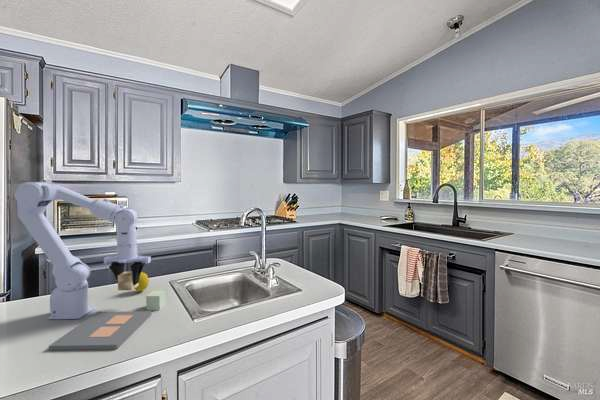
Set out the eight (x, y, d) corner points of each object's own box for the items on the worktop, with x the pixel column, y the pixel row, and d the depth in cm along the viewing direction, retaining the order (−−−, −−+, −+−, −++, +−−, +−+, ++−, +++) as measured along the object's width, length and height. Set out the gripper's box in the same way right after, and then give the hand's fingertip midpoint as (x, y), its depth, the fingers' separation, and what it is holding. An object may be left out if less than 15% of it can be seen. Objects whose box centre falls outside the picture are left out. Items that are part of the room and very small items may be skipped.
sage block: (146, 310, 96) (146, 296, 96) (152, 304, 101) (152, 291, 100) (159, 310, 97) (159, 296, 96) (165, 304, 101) (164, 290, 101)
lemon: (144, 288, 116) (144, 268, 115) (151, 291, 113) (151, 271, 112) (130, 292, 111) (129, 272, 111) (137, 295, 108) (136, 275, 108)
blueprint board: (49, 350, 74) (48, 345, 73) (97, 315, 92) (97, 311, 92) (117, 349, 74) (116, 344, 74) (151, 314, 93) (151, 310, 93)
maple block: (118, 290, 95) (117, 275, 95) (125, 285, 100) (125, 271, 100) (131, 290, 96) (131, 275, 95) (138, 285, 100) (138, 271, 100)
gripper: (97, 247, 92) (98, 288, 93) (143, 247, 93) (144, 287, 94) (110, 242, 99) (111, 280, 100) (153, 242, 100) (154, 280, 101)
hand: (128, 283), depth 98 cm, fingers closed on maple block, 4 cm apart
